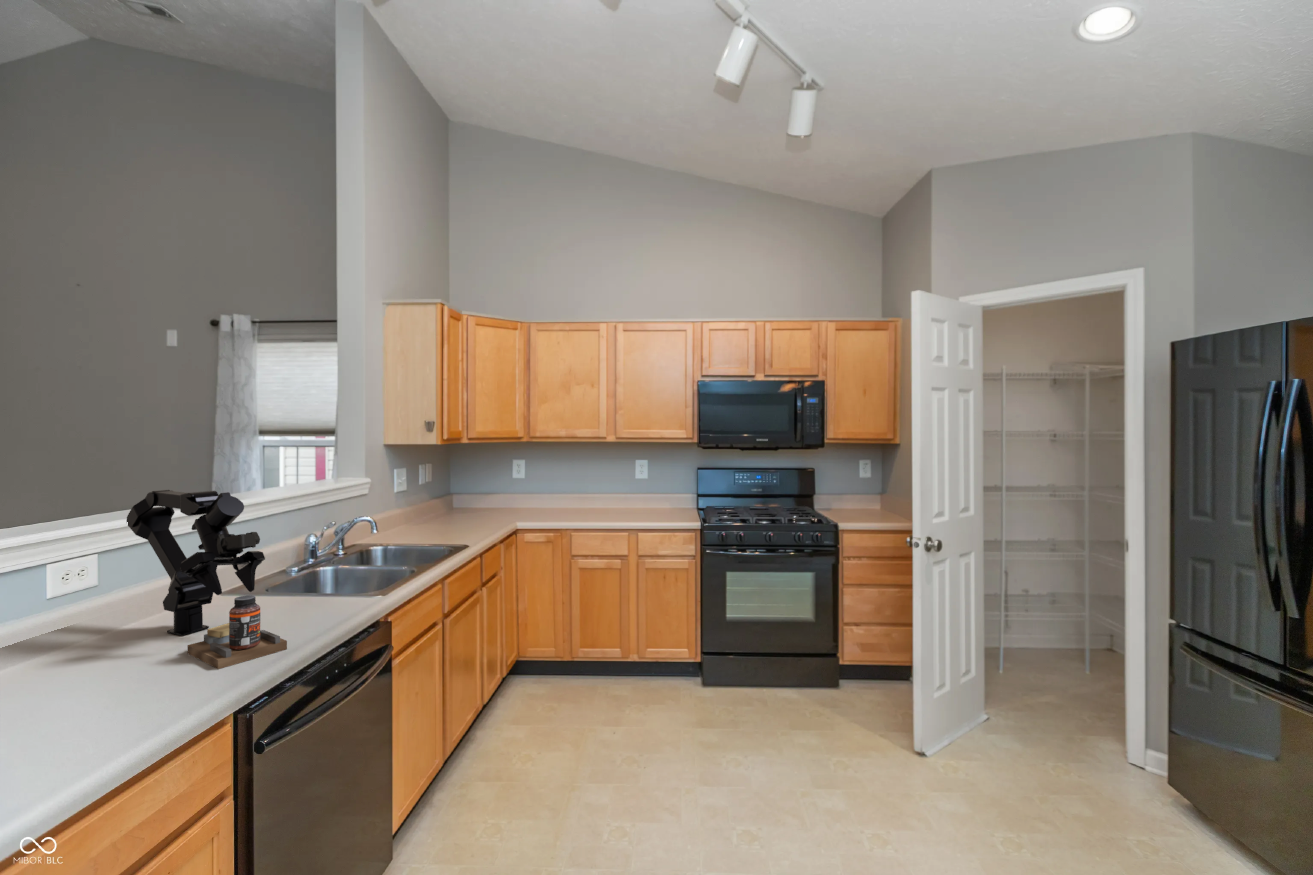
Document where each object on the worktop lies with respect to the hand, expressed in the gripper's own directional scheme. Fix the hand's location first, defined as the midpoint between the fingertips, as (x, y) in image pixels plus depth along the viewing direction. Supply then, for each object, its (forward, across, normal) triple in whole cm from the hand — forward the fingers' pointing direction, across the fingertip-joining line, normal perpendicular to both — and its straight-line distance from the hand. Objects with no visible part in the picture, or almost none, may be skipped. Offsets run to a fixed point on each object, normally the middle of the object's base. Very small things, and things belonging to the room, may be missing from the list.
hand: (236, 592), depth 143 cm
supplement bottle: (+14, -4, 0) cm, 14 cm away
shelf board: (+13, -2, +3) cm, 14 cm away
